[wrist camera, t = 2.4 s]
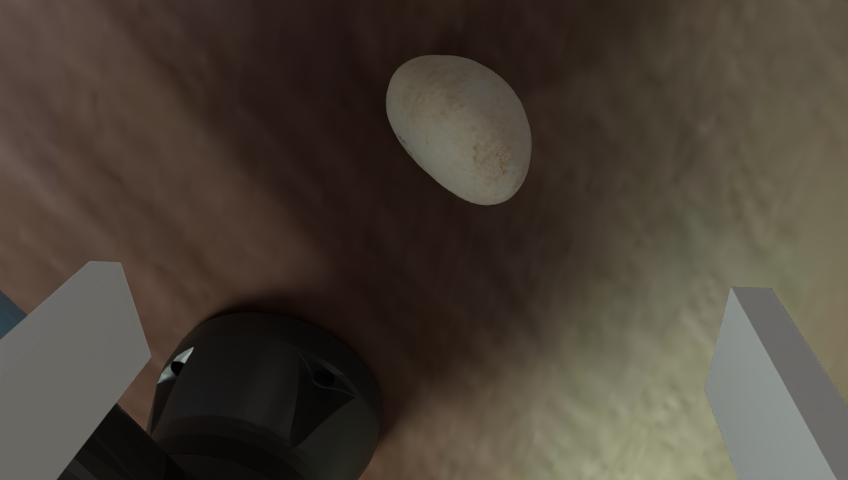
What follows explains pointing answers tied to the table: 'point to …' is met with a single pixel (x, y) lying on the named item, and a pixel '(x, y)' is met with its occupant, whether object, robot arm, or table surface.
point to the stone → (461, 126)
